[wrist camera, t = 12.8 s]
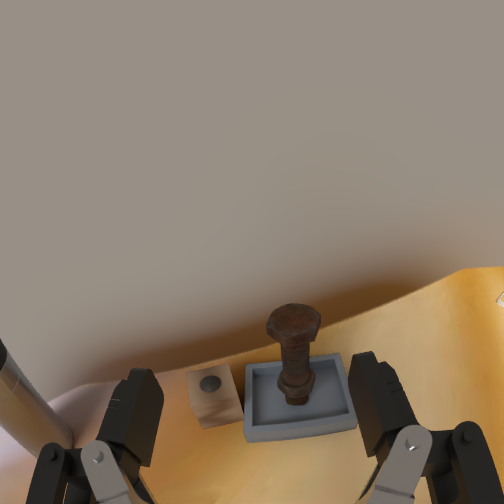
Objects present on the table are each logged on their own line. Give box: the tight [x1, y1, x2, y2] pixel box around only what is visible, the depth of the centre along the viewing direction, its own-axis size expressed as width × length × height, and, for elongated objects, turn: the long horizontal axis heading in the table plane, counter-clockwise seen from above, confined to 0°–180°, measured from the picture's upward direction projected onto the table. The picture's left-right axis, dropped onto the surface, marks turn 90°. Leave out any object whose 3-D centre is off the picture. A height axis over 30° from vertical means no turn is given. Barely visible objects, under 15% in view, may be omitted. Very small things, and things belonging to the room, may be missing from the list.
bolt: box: [266, 303, 321, 406], centre depth 31 cm, size 6×5×15 cm
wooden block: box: [186, 363, 244, 429], centre depth 34 cm, size 6×6×6 cm
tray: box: [244, 353, 358, 443], centre depth 34 cm, size 14×12×3 cm
